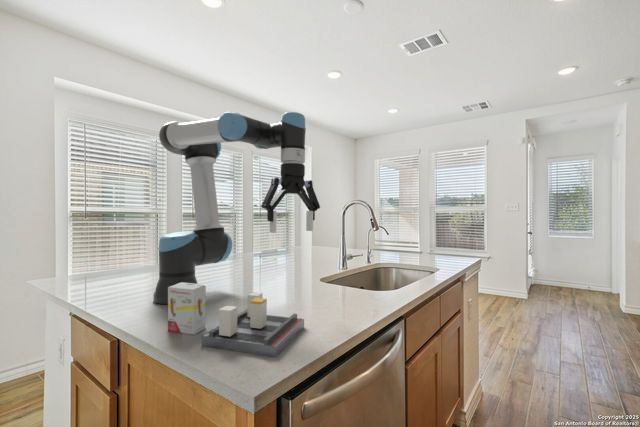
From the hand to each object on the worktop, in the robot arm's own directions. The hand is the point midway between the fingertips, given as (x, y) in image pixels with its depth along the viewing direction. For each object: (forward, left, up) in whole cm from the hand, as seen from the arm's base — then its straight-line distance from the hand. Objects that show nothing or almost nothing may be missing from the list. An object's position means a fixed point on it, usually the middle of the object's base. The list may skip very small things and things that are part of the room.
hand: (291, 231), depth 100 cm
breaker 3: (0, -21, -22) cm, 31 cm away
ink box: (-20, -23, -25) cm, 40 cm away
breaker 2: (-5, -15, -22) cm, 27 cm away
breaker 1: (-5, -28, -22) cm, 36 cm away
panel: (-1, -21, -25) cm, 33 cm away
